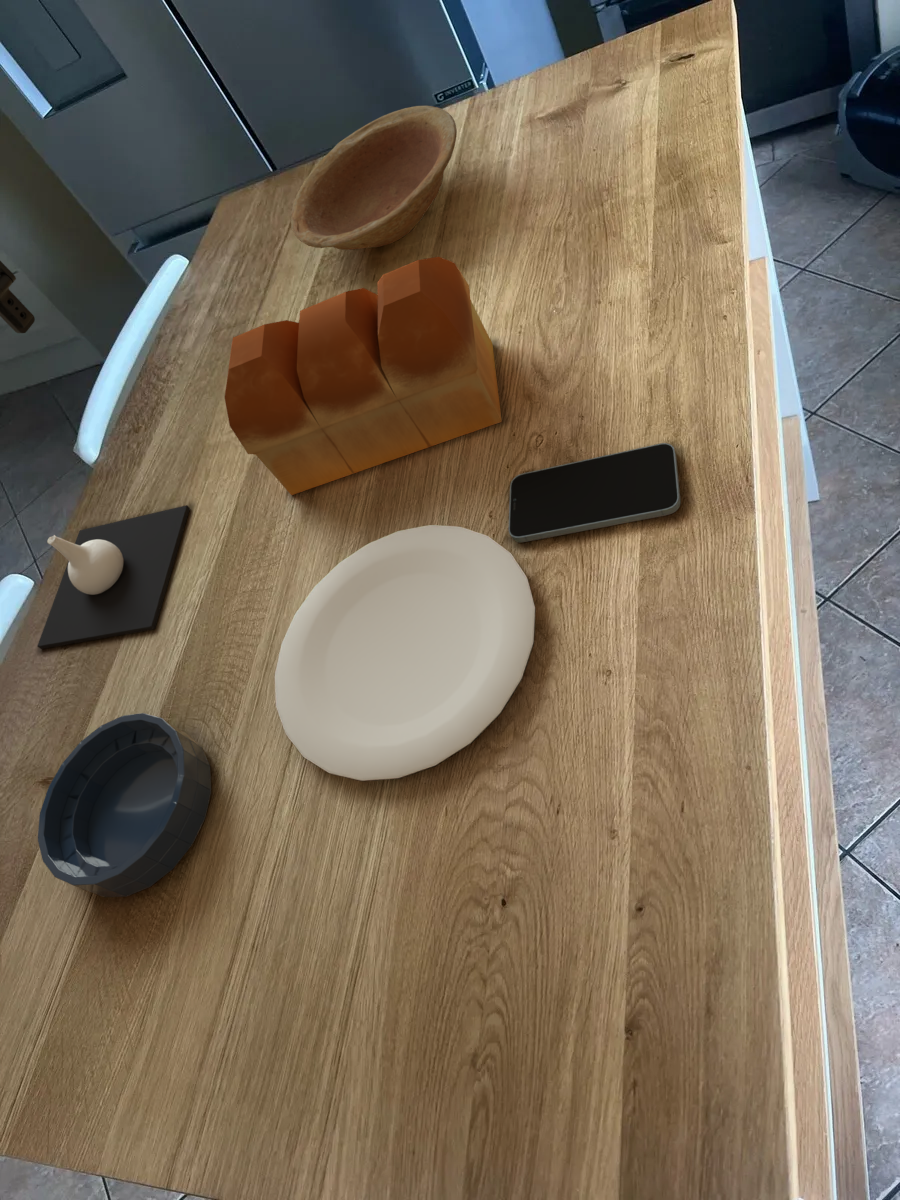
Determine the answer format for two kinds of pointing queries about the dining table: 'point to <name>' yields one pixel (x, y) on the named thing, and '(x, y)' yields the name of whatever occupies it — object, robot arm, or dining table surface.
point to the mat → (120, 582)
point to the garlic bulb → (90, 563)
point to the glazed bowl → (124, 806)
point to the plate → (405, 653)
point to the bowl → (376, 181)
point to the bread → (364, 377)
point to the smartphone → (594, 493)
